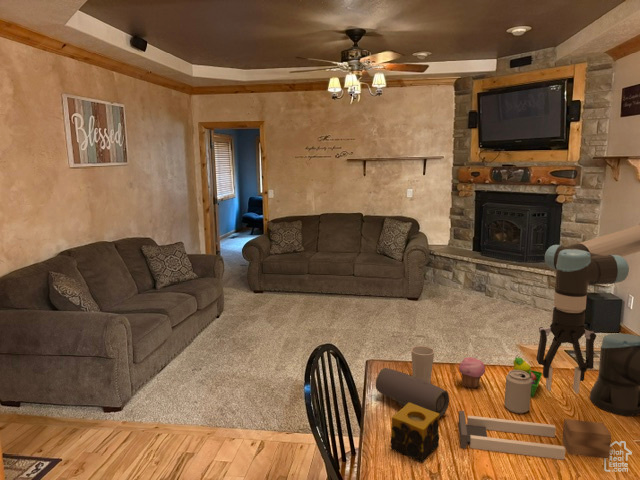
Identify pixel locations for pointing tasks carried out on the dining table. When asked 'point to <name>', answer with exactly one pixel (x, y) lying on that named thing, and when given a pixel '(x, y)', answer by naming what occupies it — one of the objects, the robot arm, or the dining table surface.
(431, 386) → the bluetooth speaker
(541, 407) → the dining table surface
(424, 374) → the cup
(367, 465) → the dining table surface
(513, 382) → the can
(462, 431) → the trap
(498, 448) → the channel
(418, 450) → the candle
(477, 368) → the cupcake
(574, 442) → the block
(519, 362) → the fruit basket
